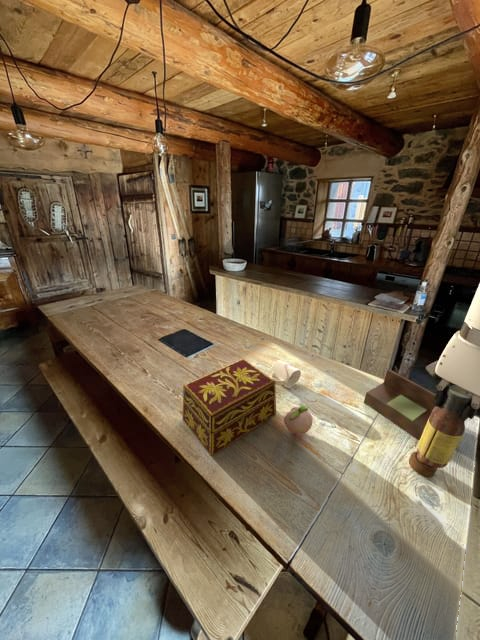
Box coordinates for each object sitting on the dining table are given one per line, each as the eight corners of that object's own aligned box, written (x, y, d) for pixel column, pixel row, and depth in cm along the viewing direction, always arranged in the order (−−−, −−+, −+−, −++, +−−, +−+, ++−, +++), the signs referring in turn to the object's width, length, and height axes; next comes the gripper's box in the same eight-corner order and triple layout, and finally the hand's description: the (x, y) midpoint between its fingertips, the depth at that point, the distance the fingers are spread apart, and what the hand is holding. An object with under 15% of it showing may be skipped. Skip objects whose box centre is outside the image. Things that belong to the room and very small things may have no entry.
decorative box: (211, 457, 79) (209, 420, 72) (181, 419, 92) (178, 384, 85) (276, 414, 94) (280, 380, 88) (243, 387, 107) (244, 356, 101)
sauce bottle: (452, 464, 61) (492, 399, 52) (434, 473, 59) (471, 408, 50) (425, 441, 66) (457, 378, 57) (407, 449, 64) (437, 385, 55)
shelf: (449, 433, 88) (462, 408, 83) (431, 449, 82) (444, 423, 78) (382, 391, 106) (389, 368, 102) (363, 402, 101) (370, 379, 96)
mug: (282, 371, 117) (283, 356, 114) (299, 381, 111) (302, 366, 108) (264, 383, 110) (265, 367, 106) (281, 394, 104) (283, 378, 100)
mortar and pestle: (403, 460, 79) (422, 415, 71) (419, 453, 81) (439, 409, 73) (424, 480, 73) (447, 434, 66) (440, 472, 76) (464, 427, 68)
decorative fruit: (301, 447, 82) (305, 424, 78) (279, 433, 87) (281, 410, 83) (315, 429, 89) (319, 406, 84) (293, 417, 94) (297, 395, 89)
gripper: (559, 350, 44) (509, 430, 52) (444, 314, 56) (419, 383, 64) (545, 364, 40) (494, 448, 48) (426, 322, 53) (402, 394, 61)
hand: (452, 410), depth 56 cm, fingers closed on sauce bottle, 4 cm apart
